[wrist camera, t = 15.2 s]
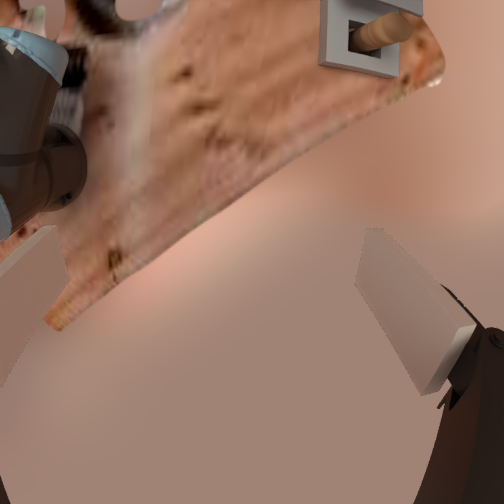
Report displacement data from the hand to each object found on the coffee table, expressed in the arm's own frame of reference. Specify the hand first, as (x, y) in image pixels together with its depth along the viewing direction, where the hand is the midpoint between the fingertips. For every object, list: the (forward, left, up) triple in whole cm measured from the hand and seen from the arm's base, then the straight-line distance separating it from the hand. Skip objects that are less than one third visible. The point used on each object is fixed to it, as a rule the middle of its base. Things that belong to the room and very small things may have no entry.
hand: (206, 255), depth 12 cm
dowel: (+20, +19, -37) cm, 46 cm away
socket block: (+20, +22, -37) cm, 47 cm away
